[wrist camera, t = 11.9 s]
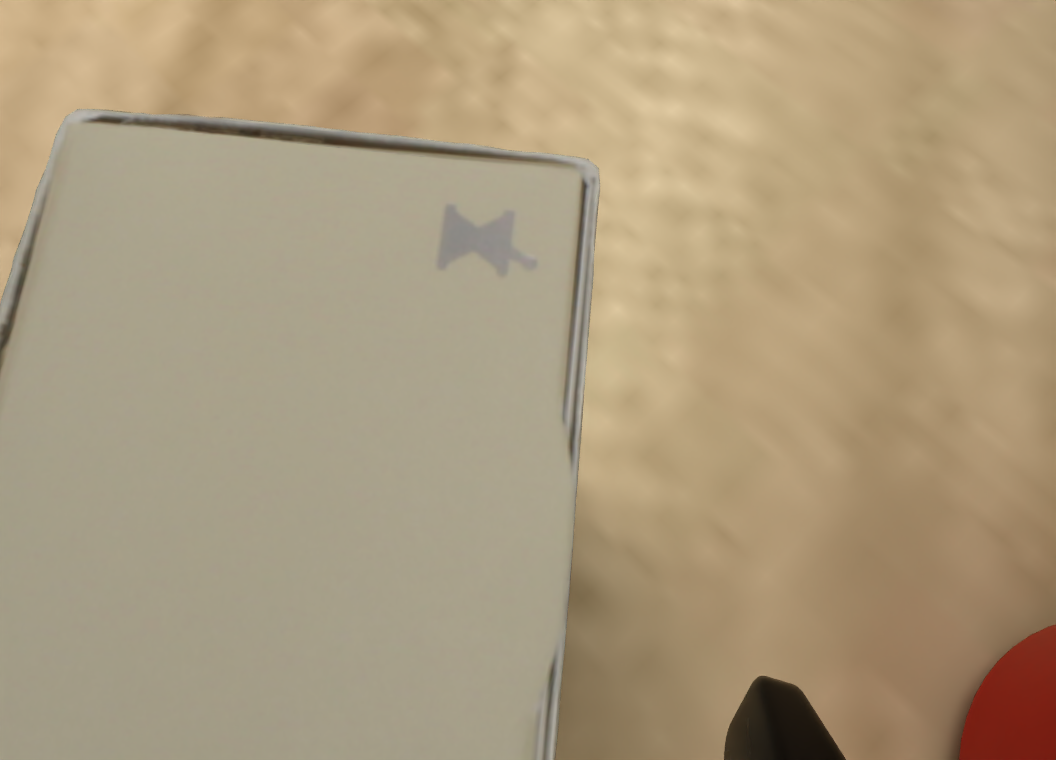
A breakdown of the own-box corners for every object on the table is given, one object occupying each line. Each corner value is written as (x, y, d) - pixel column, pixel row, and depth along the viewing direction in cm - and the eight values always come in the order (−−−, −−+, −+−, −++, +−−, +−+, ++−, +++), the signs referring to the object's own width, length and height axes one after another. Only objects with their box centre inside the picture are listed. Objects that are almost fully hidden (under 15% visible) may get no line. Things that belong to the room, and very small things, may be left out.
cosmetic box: (354, 414, 18) (57, 53, 6) (543, 434, 18) (616, 111, 6) (303, 717, 16) (-256, 1043, 4) (513, 739, 16) (531, 1127, 4)
